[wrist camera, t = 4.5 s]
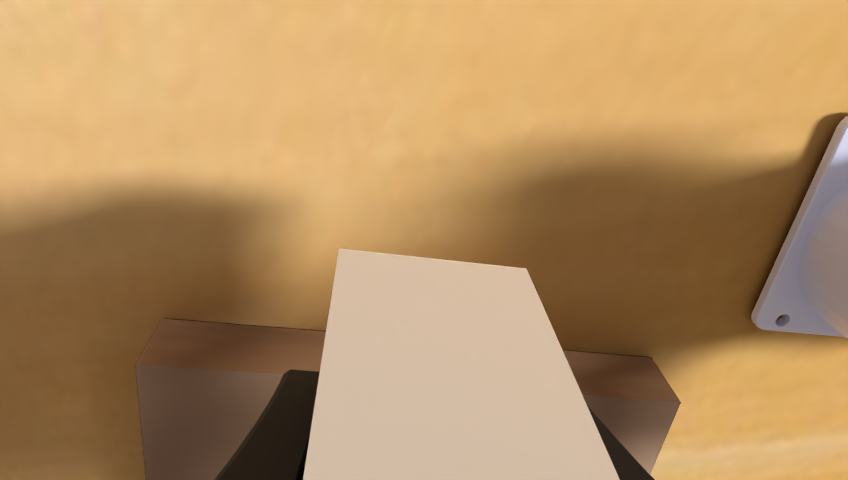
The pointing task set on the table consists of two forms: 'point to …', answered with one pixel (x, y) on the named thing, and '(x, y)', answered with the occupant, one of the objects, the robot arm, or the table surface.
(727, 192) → the table surface
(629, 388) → the socket board
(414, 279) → the plug
